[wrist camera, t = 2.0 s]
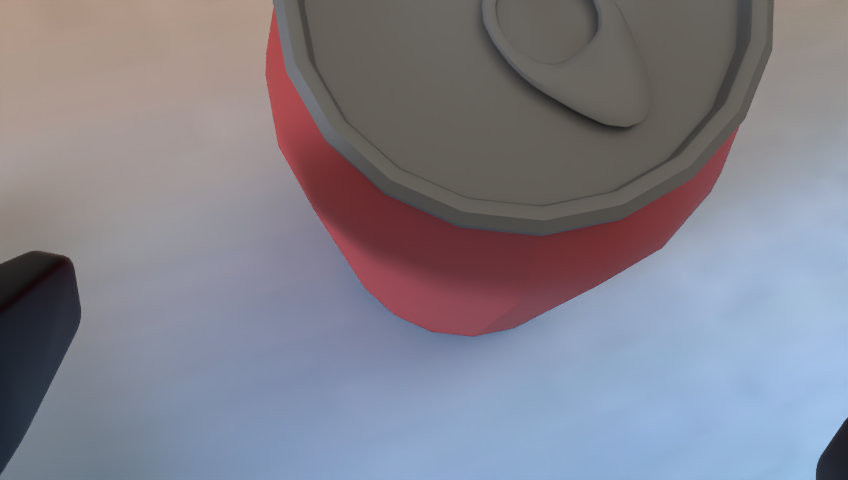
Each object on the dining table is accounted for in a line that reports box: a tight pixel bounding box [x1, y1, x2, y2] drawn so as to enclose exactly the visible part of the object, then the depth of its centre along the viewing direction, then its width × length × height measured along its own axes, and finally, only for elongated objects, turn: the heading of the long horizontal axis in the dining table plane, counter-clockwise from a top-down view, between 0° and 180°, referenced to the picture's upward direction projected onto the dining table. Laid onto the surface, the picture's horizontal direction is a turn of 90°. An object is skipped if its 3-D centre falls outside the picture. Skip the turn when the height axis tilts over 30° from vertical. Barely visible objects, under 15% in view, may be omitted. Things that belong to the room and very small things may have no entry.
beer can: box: [266, 0, 774, 336], centre depth 14 cm, size 7×7×12 cm
